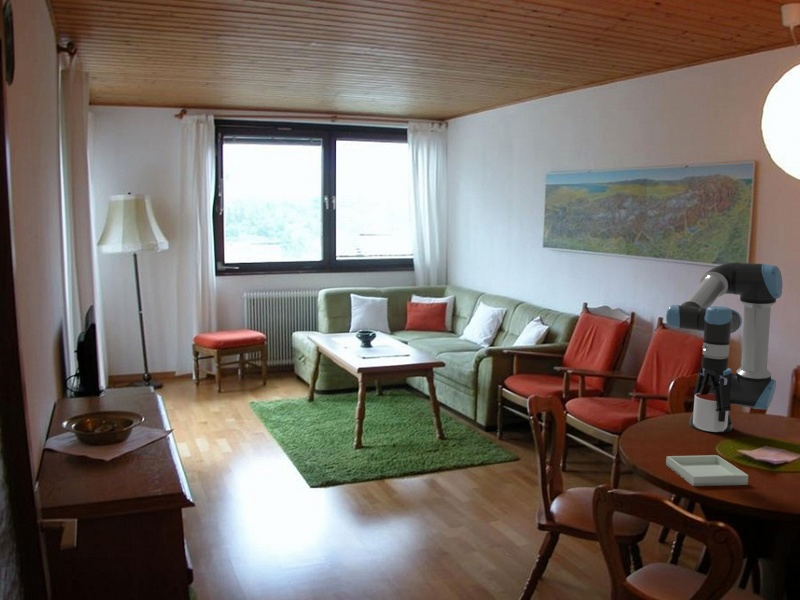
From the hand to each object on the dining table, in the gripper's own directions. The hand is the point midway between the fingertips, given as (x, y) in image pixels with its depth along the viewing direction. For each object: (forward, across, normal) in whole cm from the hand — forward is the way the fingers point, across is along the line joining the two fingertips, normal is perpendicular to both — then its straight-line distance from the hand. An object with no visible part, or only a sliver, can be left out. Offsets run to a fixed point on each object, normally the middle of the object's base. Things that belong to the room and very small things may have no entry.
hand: (709, 425), depth 224 cm
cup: (+1, 0, 0) cm, 1 cm away
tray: (+16, 0, 0) cm, 16 cm away
